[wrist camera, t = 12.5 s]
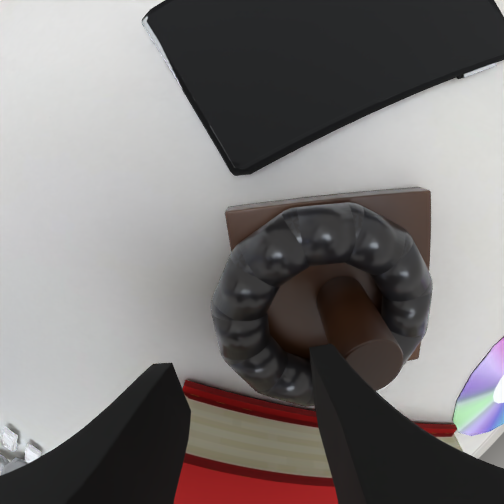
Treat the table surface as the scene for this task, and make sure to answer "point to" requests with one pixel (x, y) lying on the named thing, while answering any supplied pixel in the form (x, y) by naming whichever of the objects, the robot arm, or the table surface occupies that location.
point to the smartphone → (313, 63)
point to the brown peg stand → (340, 286)
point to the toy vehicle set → (12, 445)
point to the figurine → (10, 464)
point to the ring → (295, 261)
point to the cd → (483, 396)
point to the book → (258, 452)
